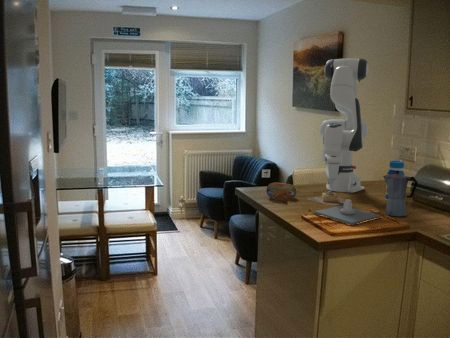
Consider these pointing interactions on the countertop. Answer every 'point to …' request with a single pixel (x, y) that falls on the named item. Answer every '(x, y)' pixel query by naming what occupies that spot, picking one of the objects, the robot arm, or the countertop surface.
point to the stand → (319, 199)
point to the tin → (281, 191)
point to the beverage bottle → (394, 171)
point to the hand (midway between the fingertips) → (330, 186)
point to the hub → (347, 213)
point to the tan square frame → (329, 197)
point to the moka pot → (397, 193)
